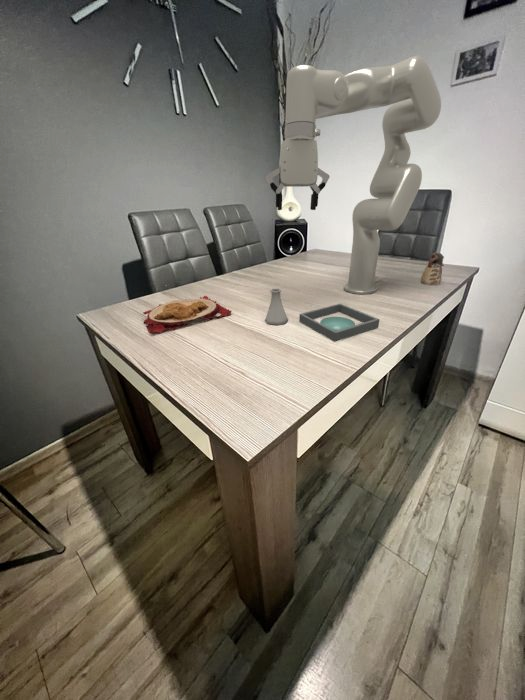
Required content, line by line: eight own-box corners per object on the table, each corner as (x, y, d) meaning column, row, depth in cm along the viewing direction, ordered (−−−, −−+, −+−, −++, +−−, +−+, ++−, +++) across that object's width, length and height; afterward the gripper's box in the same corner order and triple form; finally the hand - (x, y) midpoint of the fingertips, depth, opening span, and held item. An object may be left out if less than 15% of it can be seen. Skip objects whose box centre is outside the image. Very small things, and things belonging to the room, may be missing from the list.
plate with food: (233, 317, 91) (232, 307, 90) (151, 336, 80) (148, 325, 78) (206, 299, 110) (205, 290, 108) (137, 313, 98) (134, 303, 97)
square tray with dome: (339, 310, 90) (340, 303, 89) (378, 327, 78) (379, 319, 76) (299, 321, 84) (299, 313, 82) (334, 341, 71) (335, 333, 70)
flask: (265, 316, 88) (263, 286, 84) (287, 316, 88) (287, 285, 83) (264, 326, 82) (263, 293, 77) (288, 325, 82) (288, 293, 77)
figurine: (444, 284, 110) (453, 253, 104) (429, 286, 108) (437, 254, 103) (431, 279, 116) (438, 250, 110) (416, 281, 115) (423, 251, 109)
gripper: (328, 138, 74) (322, 209, 82) (264, 137, 72) (264, 210, 80) (337, 131, 67) (330, 209, 75) (268, 130, 66) (267, 210, 74)
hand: (296, 210), depth 78 cm, fingers open, 9 cm apart
